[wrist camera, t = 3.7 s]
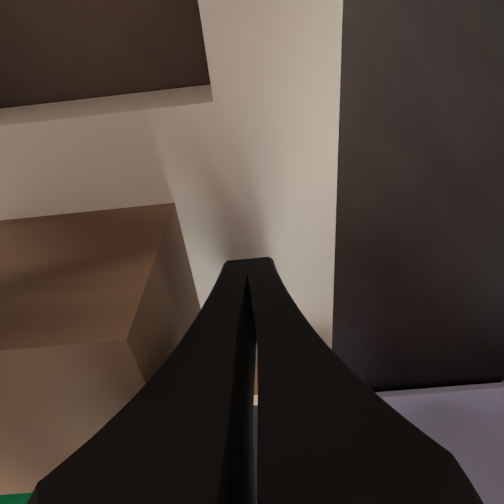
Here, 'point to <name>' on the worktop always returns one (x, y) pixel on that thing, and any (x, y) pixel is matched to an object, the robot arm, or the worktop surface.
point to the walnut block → (83, 326)
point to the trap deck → (209, 150)
